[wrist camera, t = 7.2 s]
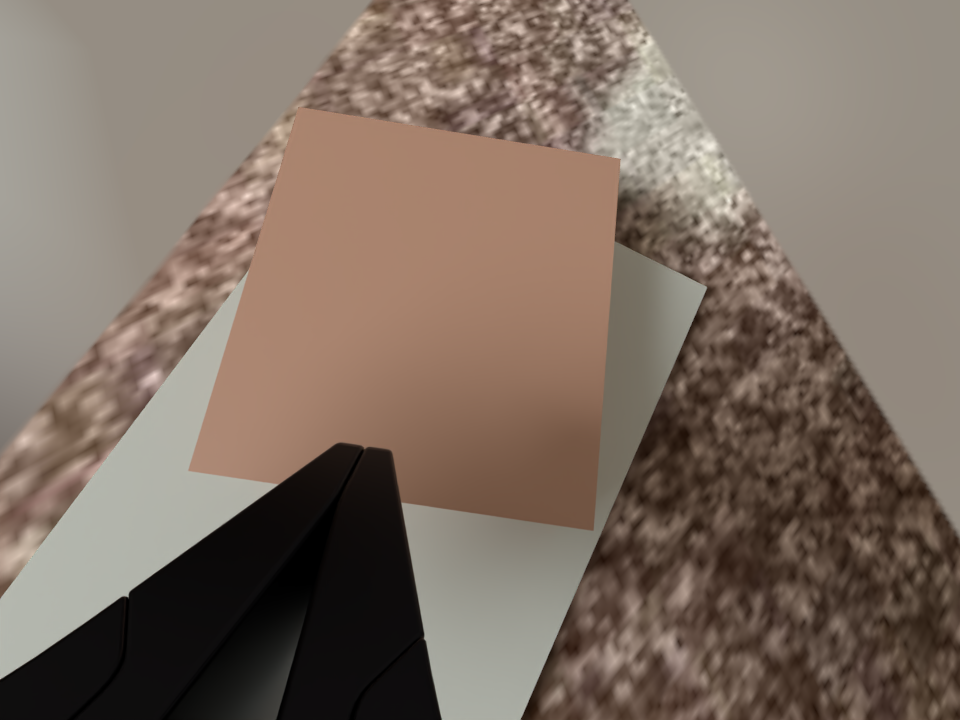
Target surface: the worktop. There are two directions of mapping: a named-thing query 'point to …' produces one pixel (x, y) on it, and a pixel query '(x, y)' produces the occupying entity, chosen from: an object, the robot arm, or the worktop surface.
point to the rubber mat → (431, 531)
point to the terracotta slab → (425, 318)
